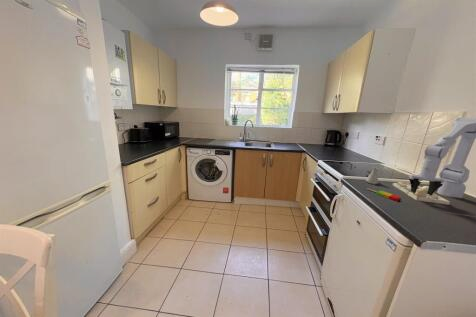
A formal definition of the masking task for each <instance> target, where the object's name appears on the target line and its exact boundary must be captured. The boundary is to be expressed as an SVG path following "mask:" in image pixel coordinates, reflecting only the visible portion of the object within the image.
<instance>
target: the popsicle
mask: <svg viewBox="0 0 476 317" xmlns="http://www.w3.org/2000/svg"><path fill="white" fill-rule="evenodd" d="M366 190H369V191H371V192H374V193H375V194H376V195H377V196H380V197H384V198H386V199H389V200H391V201H394V202H398V201H399V202H400V200H401V196H399V195H396V194H394V193H393V194H392V193H390V192H387V191H384V190H379V191H377V190H373V189H371V188H366Z"/></svg>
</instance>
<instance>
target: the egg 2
mask: <svg viewBox="0 0 476 317" xmlns="http://www.w3.org/2000/svg"><path fill="white" fill-rule="evenodd" d="M421 187H422V188H421V189H424V190H426V191H427V192H428V189H429V185H424V186H421Z"/></svg>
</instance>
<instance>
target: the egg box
mask: <svg viewBox="0 0 476 317" xmlns="http://www.w3.org/2000/svg"><path fill="white" fill-rule="evenodd" d="M392 186H393V187H395V188H396V189H398V190H400V191H401V192H403V193H404V194H405V195H408V196H409V197H411V198H413V199H414V200H416V201H418V202H419V201H420V202H426V203H435V204H442V205H448V206H449V205H450V204H451V201H450V200H448V199H446V198H444V197H442V196H440V195H438V194H435V192H434V193H433V194H432V195H429V194H427V196H426V198H423V197H418V196H416V195H415V193H413V192H411V185H406V184H400V183H398V182H392ZM422 187H423V186H420V185H419V186H418V188H417V189H421V188H422Z"/></svg>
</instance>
